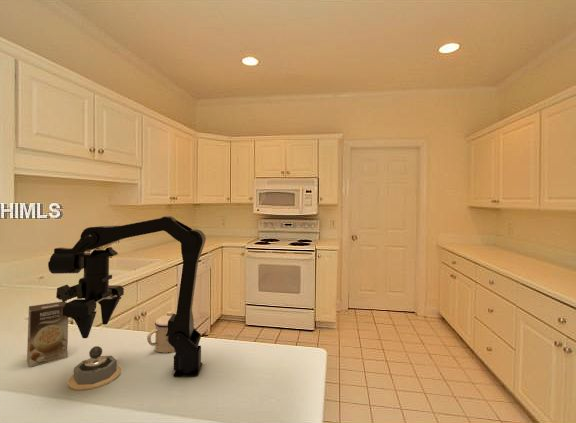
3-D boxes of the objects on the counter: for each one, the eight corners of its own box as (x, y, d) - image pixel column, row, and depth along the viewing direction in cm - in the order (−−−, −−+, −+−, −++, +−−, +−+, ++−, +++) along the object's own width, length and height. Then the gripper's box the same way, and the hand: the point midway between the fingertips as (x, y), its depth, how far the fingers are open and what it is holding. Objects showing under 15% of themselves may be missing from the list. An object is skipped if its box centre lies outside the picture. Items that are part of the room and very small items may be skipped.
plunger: (110, 366, 82) (110, 342, 83) (100, 376, 78) (100, 351, 78) (91, 367, 82) (91, 342, 82) (80, 377, 77) (80, 351, 77)
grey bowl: (129, 364, 86) (129, 352, 86) (106, 389, 74) (106, 375, 74) (86, 366, 85) (86, 353, 85) (56, 391, 73) (56, 376, 73)
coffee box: (28, 368, 84) (29, 311, 84) (26, 360, 89) (27, 306, 89) (68, 357, 90) (68, 304, 90) (64, 350, 95) (65, 300, 95)
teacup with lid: (174, 338, 104) (174, 305, 104) (189, 346, 99) (190, 311, 99) (140, 351, 95) (140, 314, 95) (155, 360, 89) (155, 321, 89)
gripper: (86, 266, 89) (85, 318, 89) (38, 281, 70) (37, 347, 70) (125, 266, 89) (124, 318, 89) (87, 280, 71) (86, 346, 71)
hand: (95, 330), depth 80 cm, fingers open, 9 cm apart
